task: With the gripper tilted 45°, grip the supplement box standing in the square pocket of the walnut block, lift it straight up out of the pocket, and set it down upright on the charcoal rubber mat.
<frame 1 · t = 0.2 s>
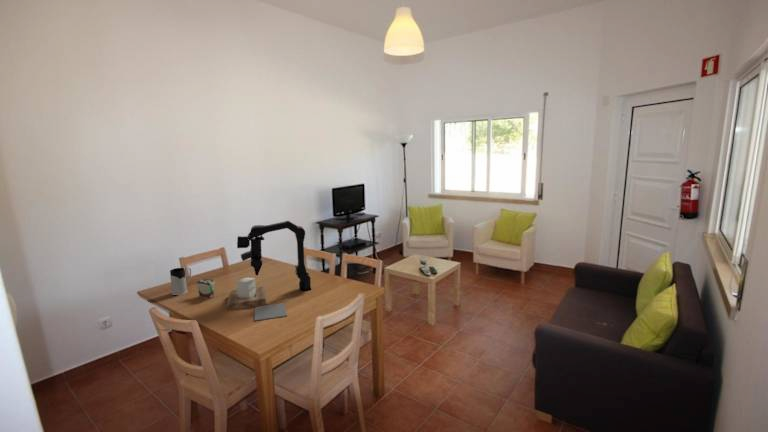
hand: (256, 272, 213), 14 cm above the table, tool pointing down, fingers open, 9 cm apart
supplement box: (247, 300, 208), resting in pocket block
pocket block: (247, 300, 208), on the table
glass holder: (183, 291, 222), on the table
alarm clock: (209, 296, 215), on the table
mat: (270, 312, 193), on the table
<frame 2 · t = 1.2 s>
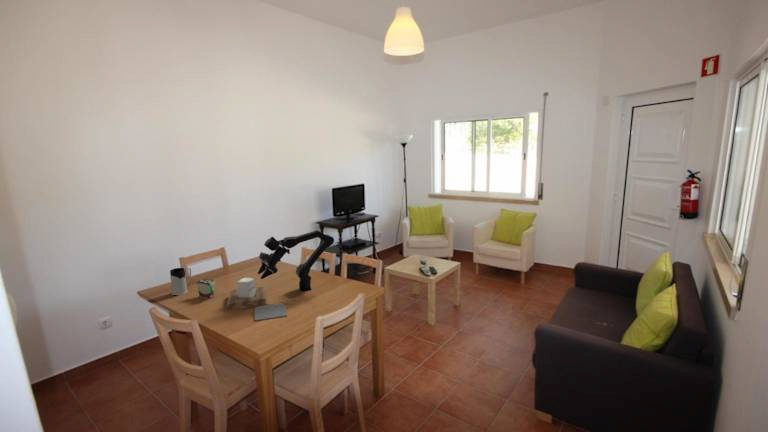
hand: (259, 276, 210), 13 cm above the table, tool tilted 45°, fingers open, 9 cm apart
nothing on the table moved.
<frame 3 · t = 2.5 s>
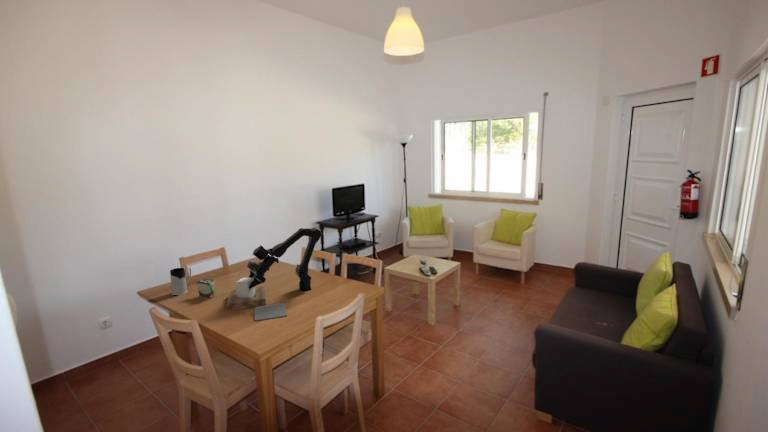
hand: (247, 285, 207), 9 cm above the table, tool tilted 45°, fingers open, 9 cm apart
supplement box: (247, 300, 208), resting in pocket block, touching gripper
everything else where it was.
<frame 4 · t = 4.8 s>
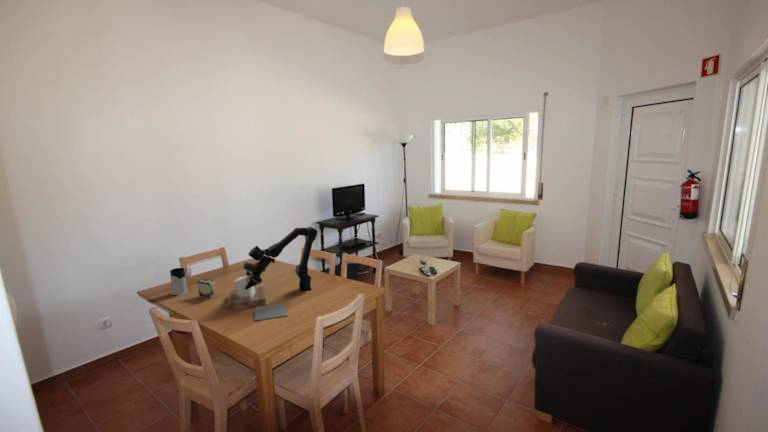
hand: (244, 286, 206), 9 cm above the table, tool tilted 45°, fingers closed on supplement box, 9 cm apart
supplement box: (248, 298, 208), point 1 cm above the table, touching gripper
everything else where it was.
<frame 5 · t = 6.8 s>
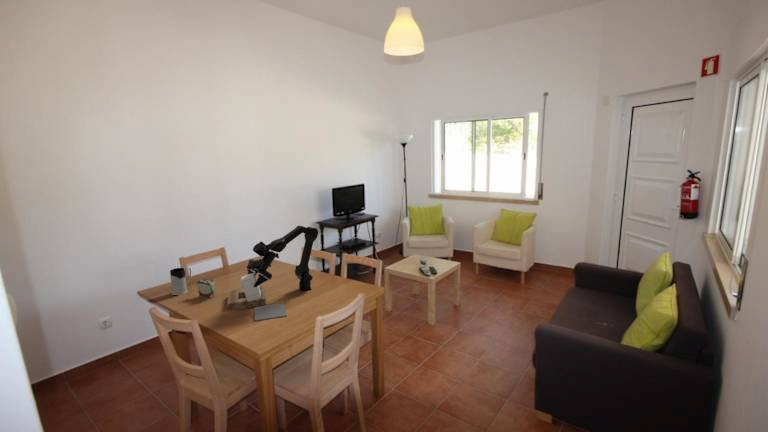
hand: (250, 284, 196), 13 cm above the table, tool tilted 45°, fingers closed on supplement box, 9 cm apart
supplement box: (254, 297, 199), point 5 cm above the table, touching gripper
everything else where it was.
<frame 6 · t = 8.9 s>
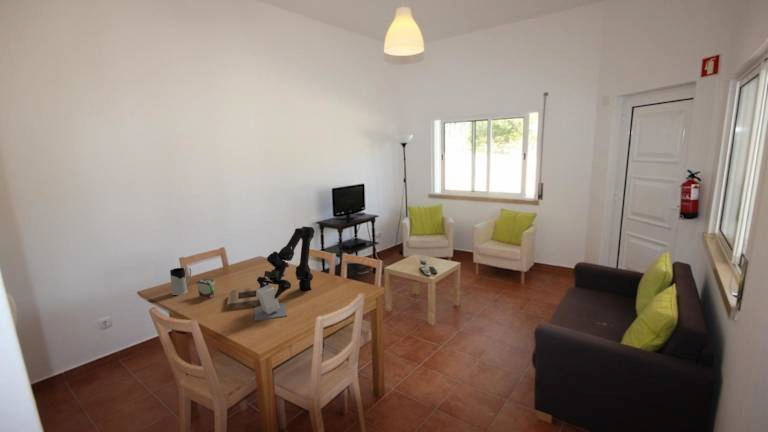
hand: (267, 297, 190), 9 cm above the table, tool tilted 45°, fingers closed on supplement box, 9 cm apart
supplement box: (271, 309, 193), point 1 cm above the table, touching gripper, mat
everything else where it was.
when the fingers open (9 cm above the table, at t = 10.5 s): supplement box stays where it is, resting on mat.
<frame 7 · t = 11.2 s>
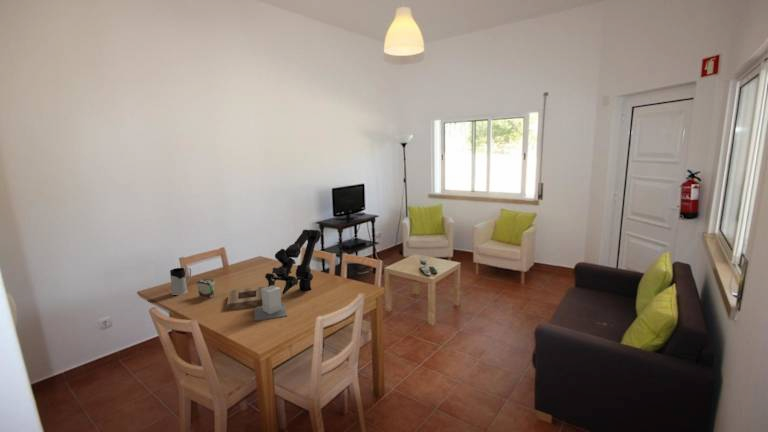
hand: (275, 293, 196), 9 cm above the table, tool tilted 45°, fingers open, 9 cm apart
supplement box: (272, 310, 194), resting on mat
everything else where it was.
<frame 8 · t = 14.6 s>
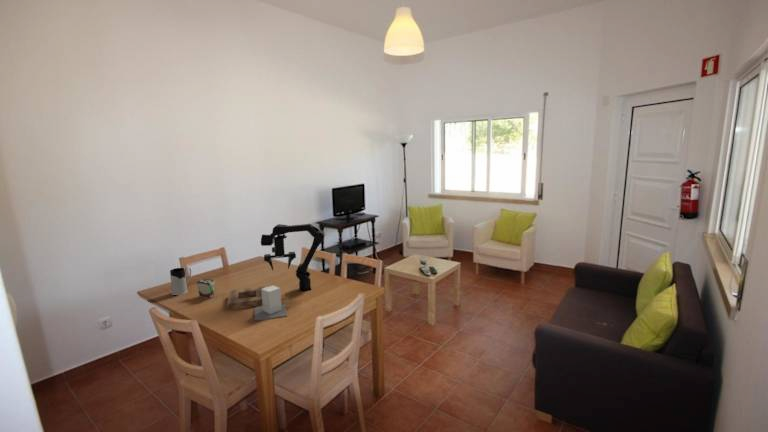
hand: (280, 269, 222), 13 cm above the table, tool pointing down, fingers open, 9 cm apart
nothing on the table moved.
at the end: supplement box inside the target area on the mat (1.3 cm from its centre), point 0.4 cm above the mat's base; supplement box tilted 0°; the gripper is holding nothing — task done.
